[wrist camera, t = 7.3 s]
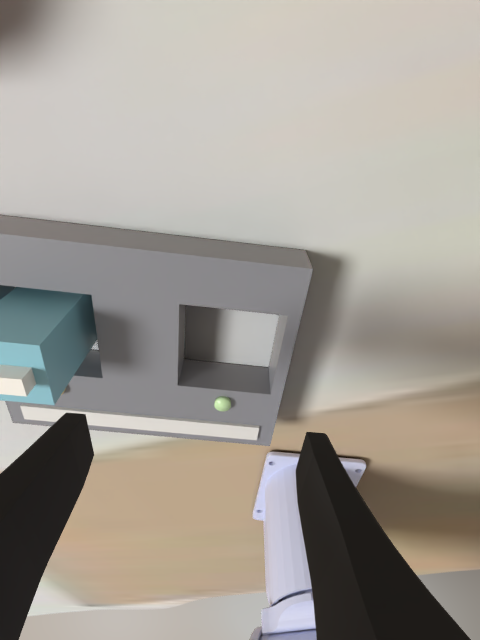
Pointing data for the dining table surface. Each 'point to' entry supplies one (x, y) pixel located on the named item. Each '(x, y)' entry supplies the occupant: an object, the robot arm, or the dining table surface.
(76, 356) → the plug
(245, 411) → the panel
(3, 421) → the dining table surface
